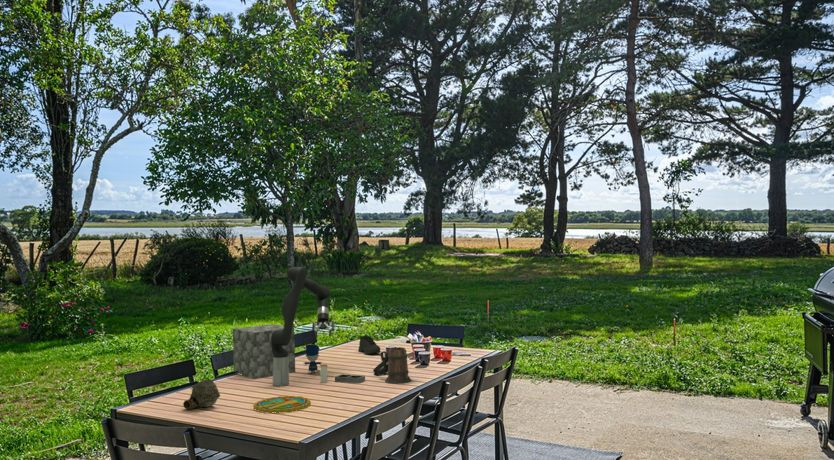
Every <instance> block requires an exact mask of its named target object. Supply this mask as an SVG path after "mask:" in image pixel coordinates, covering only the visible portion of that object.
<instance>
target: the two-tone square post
mask: <svg viewBox="0 0 834 460" xmlns="http://www.w3.org/2000/svg"><path fill="white" fill-rule="evenodd" d="M319 367H320V368H319V369H320V383H321V384H325V383H326V384H327V383H328V363H326V362H325V363H324V362H323V363H321V364H320V365H319Z"/></svg>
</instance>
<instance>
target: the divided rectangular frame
mask: <svg viewBox="0 0 834 460" xmlns="http://www.w3.org/2000/svg"><path fill="white" fill-rule="evenodd" d="M365 381H366V375H356V374H342V373H341V374H338V375H336V376H334V382H335V383H346V382H347V383H348V384H361V383H364V382H365Z"/></svg>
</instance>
